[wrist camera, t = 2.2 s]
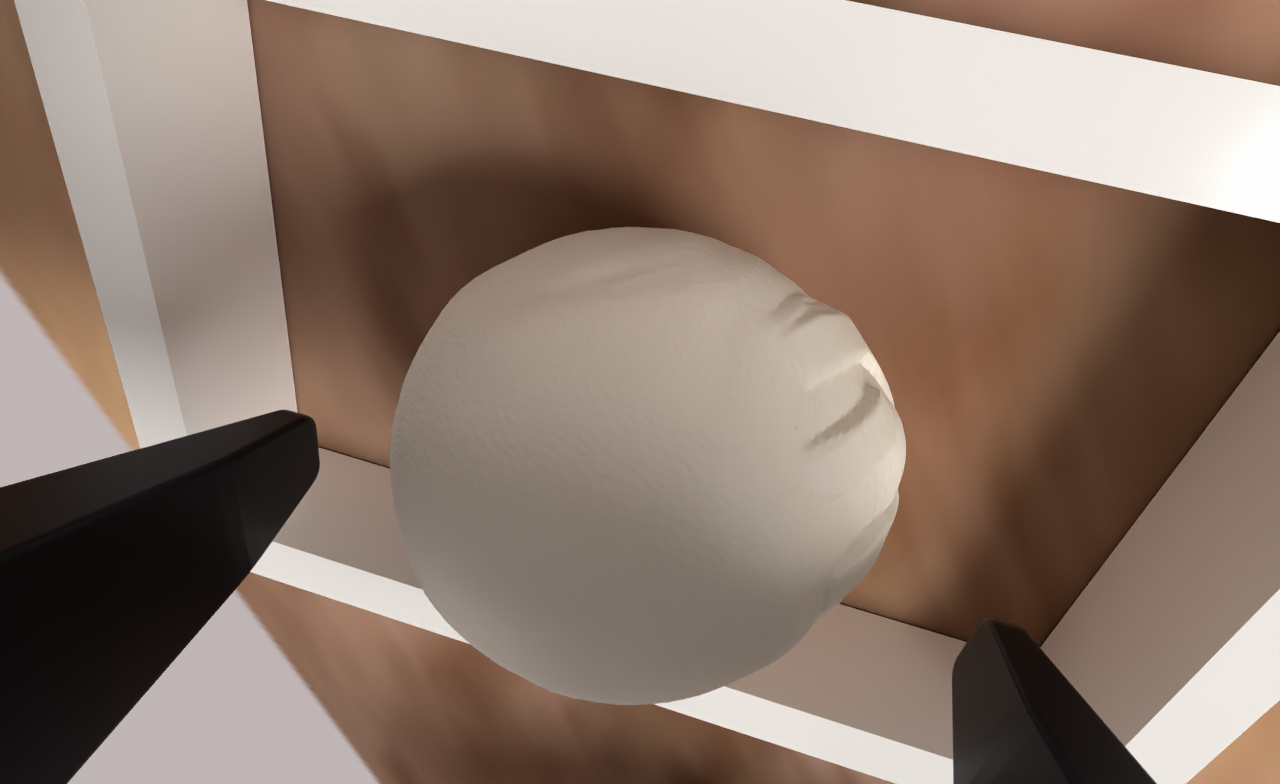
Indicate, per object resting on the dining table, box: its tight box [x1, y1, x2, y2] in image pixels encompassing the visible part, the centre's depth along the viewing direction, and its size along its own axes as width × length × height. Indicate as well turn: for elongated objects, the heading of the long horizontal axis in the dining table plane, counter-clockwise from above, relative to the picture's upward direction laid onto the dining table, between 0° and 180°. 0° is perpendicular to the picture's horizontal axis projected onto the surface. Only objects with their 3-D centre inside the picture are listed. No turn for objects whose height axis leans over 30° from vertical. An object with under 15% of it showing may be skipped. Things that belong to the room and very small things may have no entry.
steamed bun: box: [390, 227, 906, 705], centre depth 10 cm, size 7×7×7 cm
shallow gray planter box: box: [14, 0, 1280, 784], centre depth 12 cm, size 12×20×3 cm, turn 79°
